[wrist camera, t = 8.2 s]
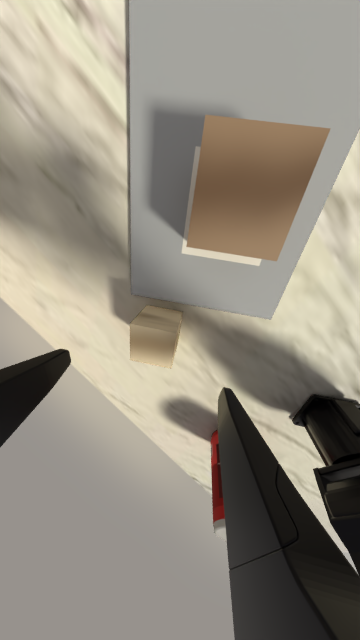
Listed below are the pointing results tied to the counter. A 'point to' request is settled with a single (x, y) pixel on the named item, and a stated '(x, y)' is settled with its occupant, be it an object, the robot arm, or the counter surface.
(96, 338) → the counter surface
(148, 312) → the maple block
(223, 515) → the canned food
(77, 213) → the counter surface
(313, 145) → the walnut block
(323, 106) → the build mat
